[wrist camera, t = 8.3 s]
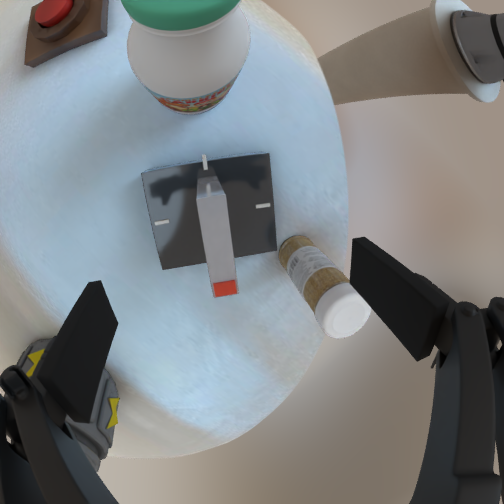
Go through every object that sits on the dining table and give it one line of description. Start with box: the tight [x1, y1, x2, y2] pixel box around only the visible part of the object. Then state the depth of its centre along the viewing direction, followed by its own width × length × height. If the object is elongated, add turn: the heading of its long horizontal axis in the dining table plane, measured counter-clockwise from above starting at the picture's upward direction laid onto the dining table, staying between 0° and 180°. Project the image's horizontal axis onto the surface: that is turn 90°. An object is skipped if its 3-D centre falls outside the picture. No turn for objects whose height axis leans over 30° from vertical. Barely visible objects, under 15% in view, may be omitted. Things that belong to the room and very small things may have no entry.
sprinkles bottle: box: [279, 236, 371, 339], centre depth 26 cm, size 5×5×13 cm
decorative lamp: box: [4, 339, 120, 472], centre depth 21 cm, size 19×19×30 cm
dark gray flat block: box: [141, 152, 277, 270], centre depth 27 cm, size 12×11×3 cm
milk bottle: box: [121, 0, 250, 115], centre depth 14 cm, size 8×8×20 cm
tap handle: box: [196, 176, 239, 298], centre depth 21 cm, size 7×2×9 cm, turn 6°
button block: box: [25, 0, 109, 67], centre depth 14 cm, size 10×9×4 cm
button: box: [35, 0, 73, 27], centre depth 12 cm, size 4×4×2 cm
